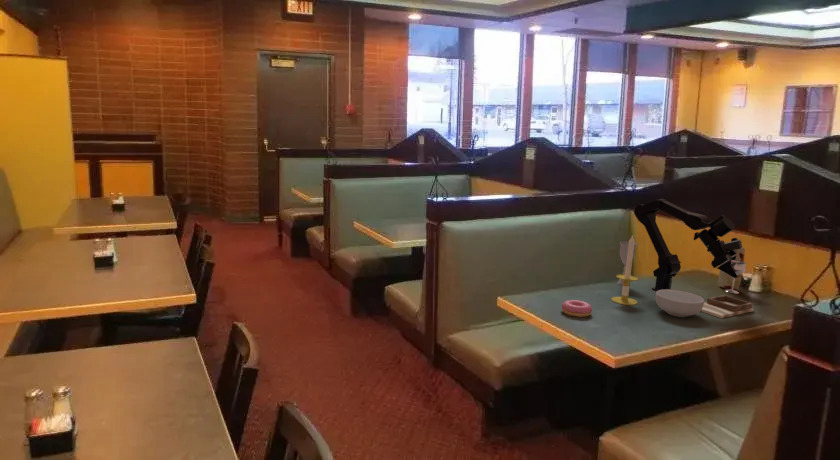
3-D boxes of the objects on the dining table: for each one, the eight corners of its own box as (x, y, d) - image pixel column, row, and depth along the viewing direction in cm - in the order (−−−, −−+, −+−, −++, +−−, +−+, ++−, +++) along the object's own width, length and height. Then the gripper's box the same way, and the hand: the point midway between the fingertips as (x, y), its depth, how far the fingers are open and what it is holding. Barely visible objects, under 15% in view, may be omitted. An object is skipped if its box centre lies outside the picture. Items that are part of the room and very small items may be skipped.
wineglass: (740, 295, 242) (745, 265, 240) (721, 291, 246) (726, 261, 243) (742, 291, 248) (747, 261, 246) (723, 287, 252) (728, 258, 249)
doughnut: (580, 308, 237) (581, 297, 236) (598, 317, 227) (599, 306, 226) (555, 309, 233) (556, 298, 233) (572, 319, 223) (573, 308, 222)
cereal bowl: (682, 323, 226) (685, 304, 224) (644, 309, 239) (646, 291, 238) (711, 317, 235) (714, 299, 233) (672, 304, 248) (675, 287, 247)
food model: (713, 286, 279) (720, 242, 275) (722, 285, 282) (729, 241, 279) (735, 292, 271) (742, 247, 267) (743, 291, 274) (750, 246, 271)
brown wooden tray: (721, 318, 234) (722, 310, 234) (690, 307, 245) (691, 300, 245) (753, 311, 246) (754, 303, 245) (722, 301, 256) (723, 294, 256)
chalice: (633, 283, 276) (638, 243, 273) (631, 287, 270) (636, 245, 267) (615, 280, 279) (620, 240, 276) (613, 284, 273) (618, 243, 270)
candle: (622, 296, 256) (630, 230, 250) (643, 303, 247) (651, 236, 242) (605, 299, 250) (613, 232, 245) (626, 306, 242) (635, 237, 237)
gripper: (725, 234, 237) (752, 269, 233) (735, 228, 252) (761, 260, 248) (700, 250, 243) (726, 284, 239) (711, 244, 258) (736, 275, 254)
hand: (738, 276), depth 245 cm, fingers closed on wineglass, 6 cm apart
